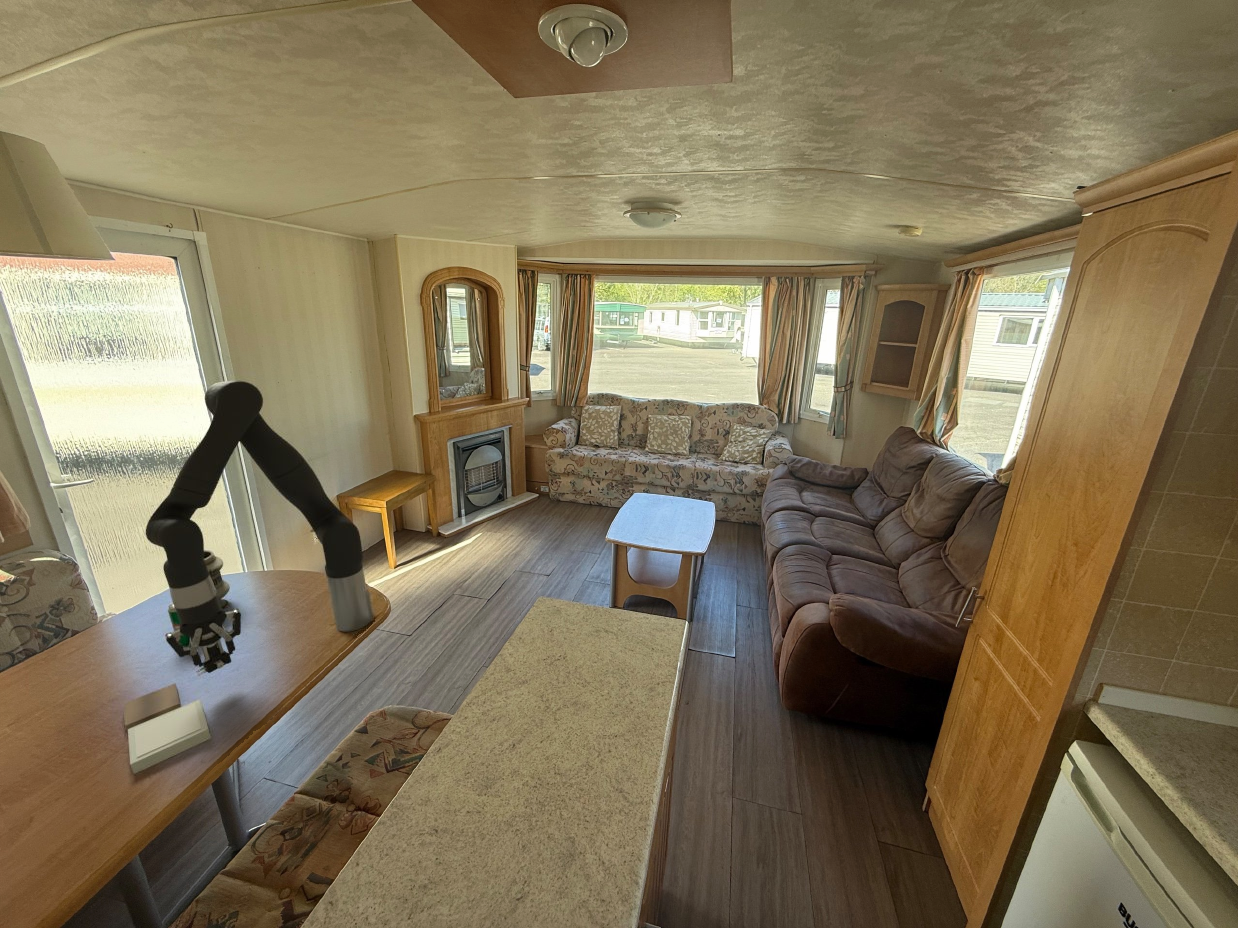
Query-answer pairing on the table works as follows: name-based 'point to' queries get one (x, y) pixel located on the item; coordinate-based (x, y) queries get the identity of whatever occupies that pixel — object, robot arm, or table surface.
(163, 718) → the cream tray
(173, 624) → the soda can
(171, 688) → the walnut stand
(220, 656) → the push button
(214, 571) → the apothecary jar
